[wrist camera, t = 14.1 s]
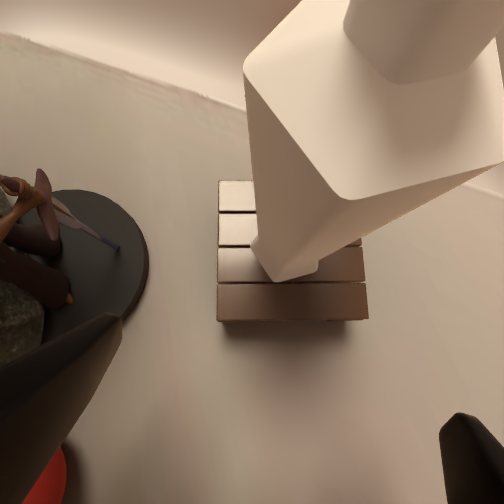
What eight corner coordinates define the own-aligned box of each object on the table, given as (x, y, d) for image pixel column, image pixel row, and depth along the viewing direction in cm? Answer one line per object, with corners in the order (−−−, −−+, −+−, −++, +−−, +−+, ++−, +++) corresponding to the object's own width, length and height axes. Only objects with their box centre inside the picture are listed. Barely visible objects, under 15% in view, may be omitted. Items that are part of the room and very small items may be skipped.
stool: (221, 322, 20) (216, 321, 16) (223, 205, 22) (218, 179, 18) (345, 320, 20) (369, 319, 16) (336, 205, 22) (356, 179, 18)
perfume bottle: (296, 308, 16) (721, 182, 2) (232, 257, 17) (162, -156, 2) (345, 242, 17) (894, -194, 3) (283, 196, 18) (461, -379, 3)
